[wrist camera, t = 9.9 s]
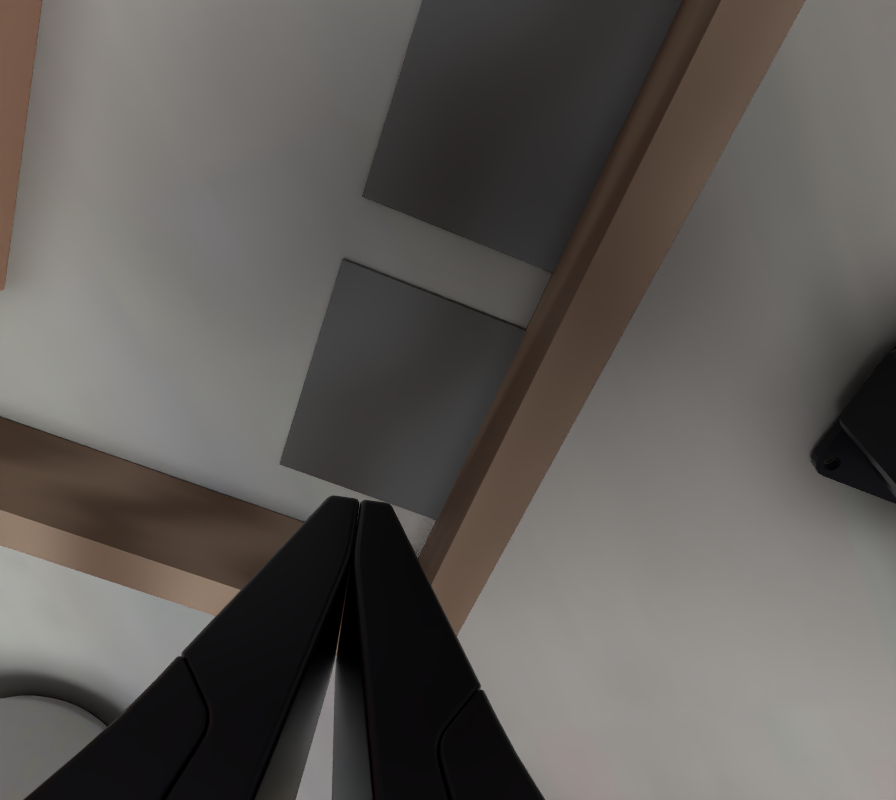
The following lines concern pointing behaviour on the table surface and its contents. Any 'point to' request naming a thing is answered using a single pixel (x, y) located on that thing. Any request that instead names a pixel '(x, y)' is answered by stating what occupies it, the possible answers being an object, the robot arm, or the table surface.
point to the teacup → (39, 740)
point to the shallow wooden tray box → (441, 320)
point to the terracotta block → (14, 105)
